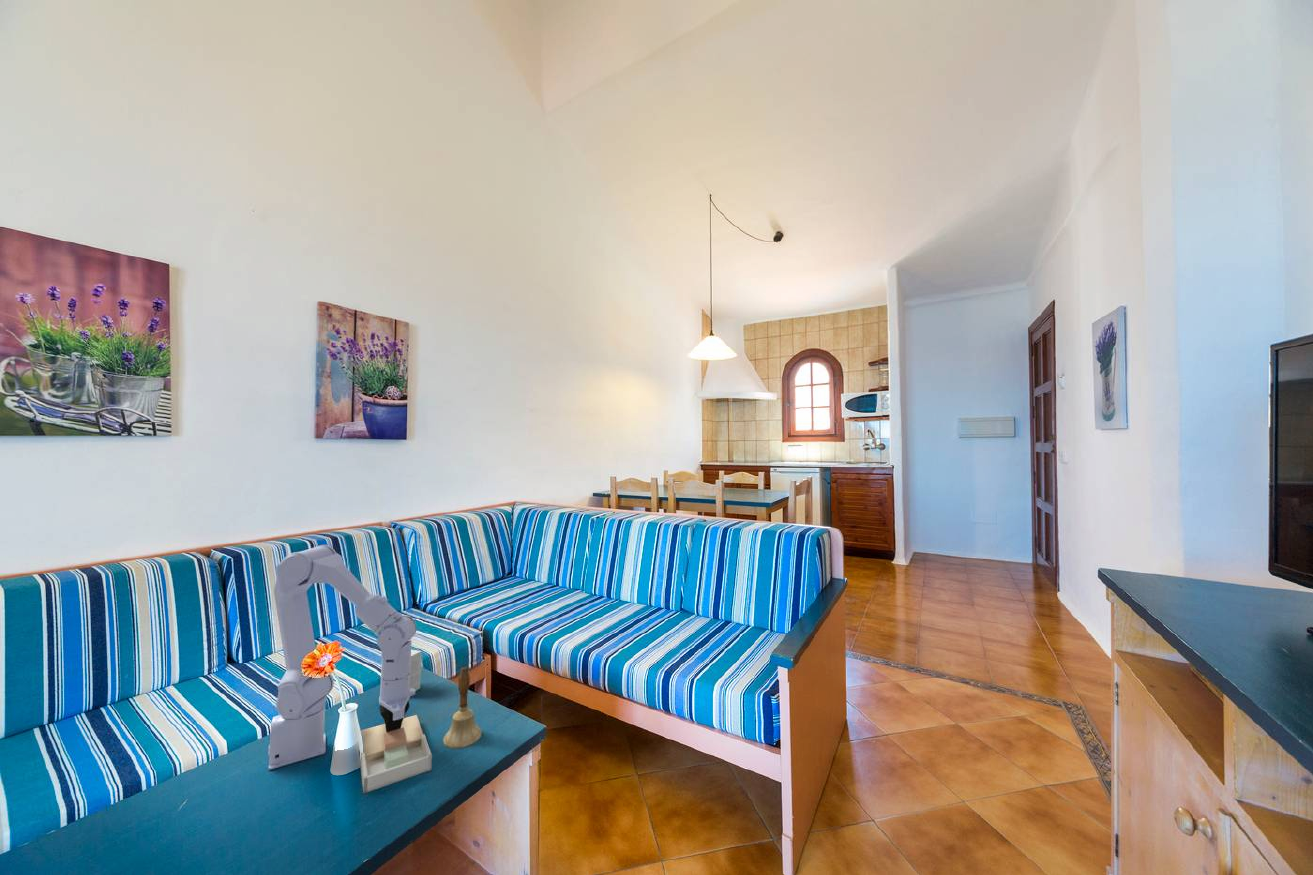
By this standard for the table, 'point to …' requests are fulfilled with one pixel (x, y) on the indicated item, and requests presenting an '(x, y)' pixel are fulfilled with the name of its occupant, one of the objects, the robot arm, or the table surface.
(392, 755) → the sage tile
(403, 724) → the beech board
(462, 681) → the hand bell
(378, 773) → the tray
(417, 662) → the small box
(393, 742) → the terracotta tile
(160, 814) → the table surface
